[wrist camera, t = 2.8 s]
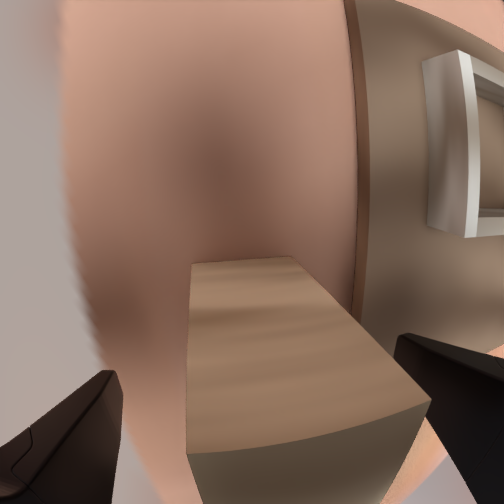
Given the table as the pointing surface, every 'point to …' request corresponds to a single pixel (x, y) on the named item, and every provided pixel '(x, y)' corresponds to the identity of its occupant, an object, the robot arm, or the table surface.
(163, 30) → the table surface
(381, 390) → the peg
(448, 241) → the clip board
